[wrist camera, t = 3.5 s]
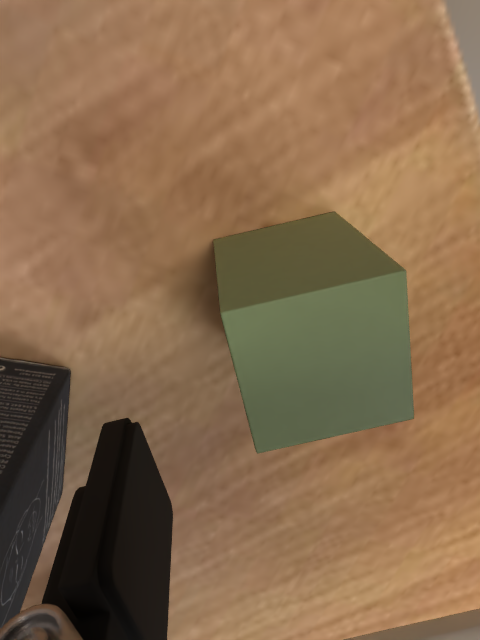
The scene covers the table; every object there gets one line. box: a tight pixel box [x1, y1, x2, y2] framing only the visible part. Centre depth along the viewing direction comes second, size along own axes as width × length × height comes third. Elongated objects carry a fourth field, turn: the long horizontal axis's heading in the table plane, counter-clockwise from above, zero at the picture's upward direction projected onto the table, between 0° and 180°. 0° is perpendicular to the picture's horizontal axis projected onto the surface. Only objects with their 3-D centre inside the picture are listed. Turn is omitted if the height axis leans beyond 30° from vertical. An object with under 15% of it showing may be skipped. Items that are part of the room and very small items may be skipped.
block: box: [213, 212, 414, 453], centre depth 16 cm, size 5×5×7 cm
